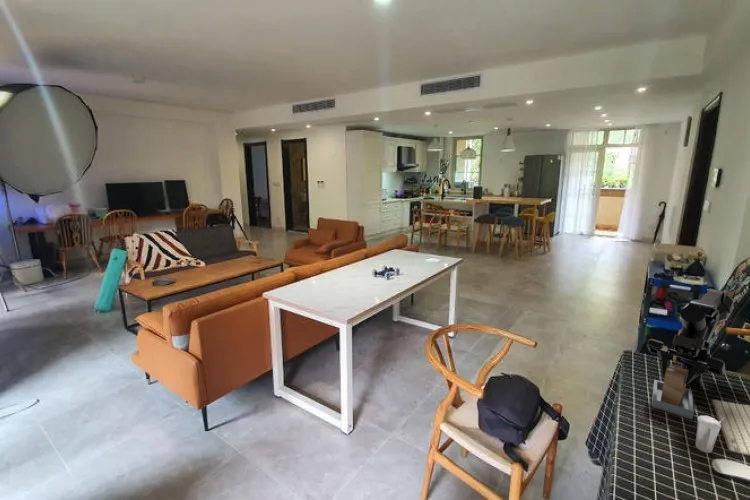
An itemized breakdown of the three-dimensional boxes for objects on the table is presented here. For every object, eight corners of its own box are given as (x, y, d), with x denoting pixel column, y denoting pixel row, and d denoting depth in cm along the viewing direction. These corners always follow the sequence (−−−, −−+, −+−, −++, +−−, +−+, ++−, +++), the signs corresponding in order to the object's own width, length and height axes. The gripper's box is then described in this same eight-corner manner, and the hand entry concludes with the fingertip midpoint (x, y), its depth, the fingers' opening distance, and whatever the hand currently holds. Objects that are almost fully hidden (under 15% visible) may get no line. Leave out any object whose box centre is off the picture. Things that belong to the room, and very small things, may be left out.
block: (665, 394, 118) (670, 364, 116) (682, 401, 115) (688, 370, 112) (660, 400, 116) (666, 369, 113) (678, 407, 112) (684, 375, 110)
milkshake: (723, 456, 94) (730, 423, 92) (699, 453, 95) (706, 420, 93) (711, 443, 98) (718, 411, 96) (688, 441, 99) (694, 409, 97)
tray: (653, 386, 124) (654, 379, 123) (690, 396, 118) (691, 389, 118) (651, 407, 113) (653, 400, 113) (692, 419, 108) (693, 412, 107)
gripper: (653, 315, 119) (635, 356, 115) (730, 335, 105) (713, 383, 101) (657, 331, 126) (640, 370, 122) (731, 352, 111) (715, 398, 107)
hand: (674, 379), depth 113 cm, fingers open, 5 cm apart
